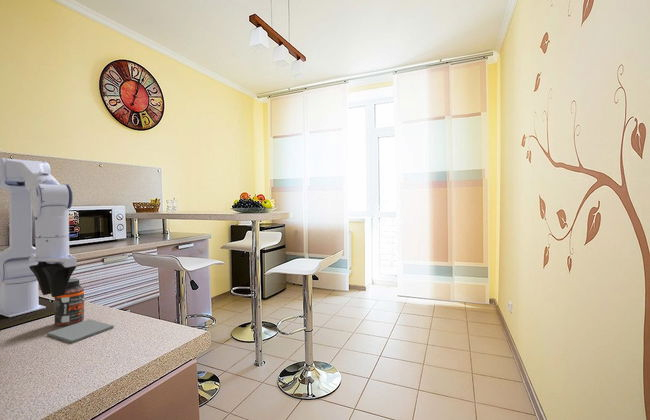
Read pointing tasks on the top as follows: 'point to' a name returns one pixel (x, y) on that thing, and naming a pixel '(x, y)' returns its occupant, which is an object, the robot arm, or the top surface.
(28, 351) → the top surface
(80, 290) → the supplement bottle
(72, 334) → the mat
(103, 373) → the top surface
